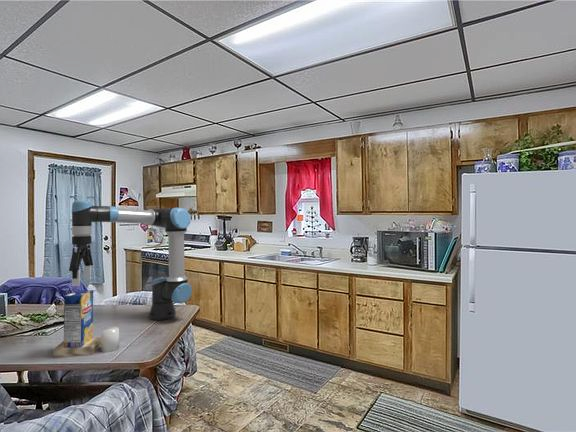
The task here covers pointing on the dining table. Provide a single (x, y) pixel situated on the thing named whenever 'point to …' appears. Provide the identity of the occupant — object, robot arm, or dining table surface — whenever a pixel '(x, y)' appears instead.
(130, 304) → the dining table surface
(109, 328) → the white rounded cylinder
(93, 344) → the maple block
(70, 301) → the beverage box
